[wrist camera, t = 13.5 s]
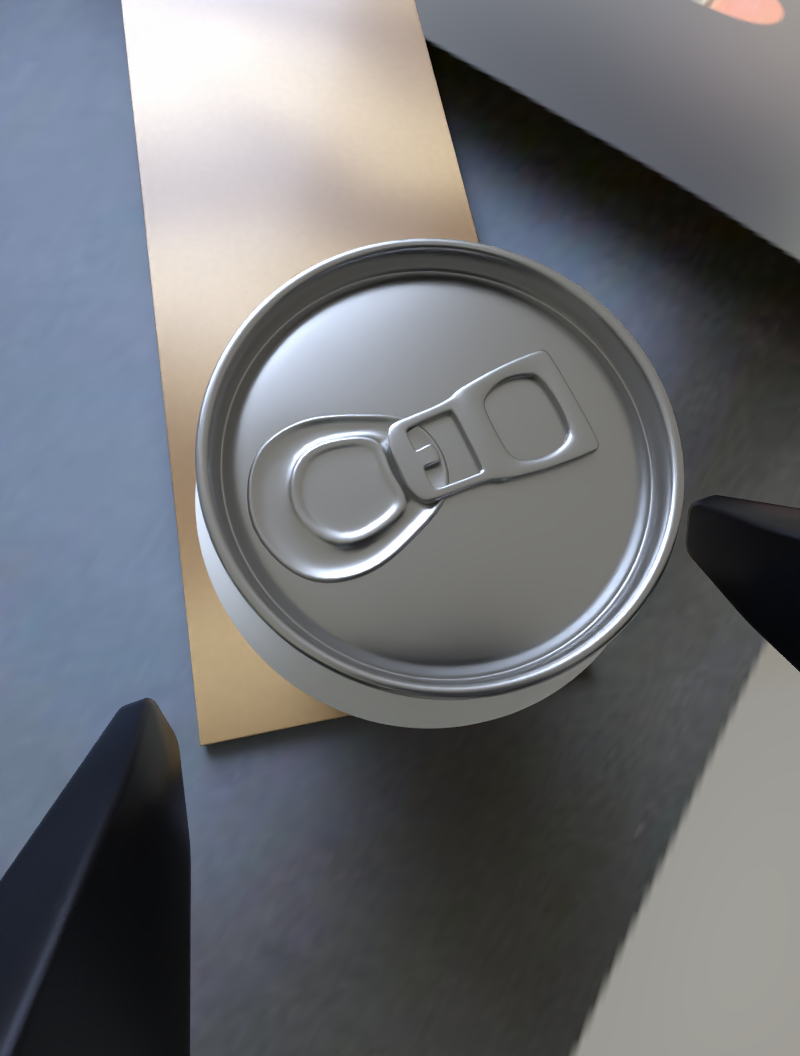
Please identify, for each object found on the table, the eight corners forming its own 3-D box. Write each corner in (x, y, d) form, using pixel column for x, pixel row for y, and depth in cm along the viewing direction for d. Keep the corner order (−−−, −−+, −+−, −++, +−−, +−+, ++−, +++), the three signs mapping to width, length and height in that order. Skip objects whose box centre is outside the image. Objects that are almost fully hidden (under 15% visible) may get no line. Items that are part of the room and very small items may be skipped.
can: (251, 542, 18) (74, 301, 7) (435, 467, 19) (558, 150, 8) (331, 740, 17) (285, 869, 5) (524, 647, 18) (829, 586, 6)
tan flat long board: (587, 665, 18) (592, 665, 18) (203, 744, 17) (199, 746, 17) (380, -117, 27) (380, -128, 27) (111, -108, 25) (108, -121, 25)
